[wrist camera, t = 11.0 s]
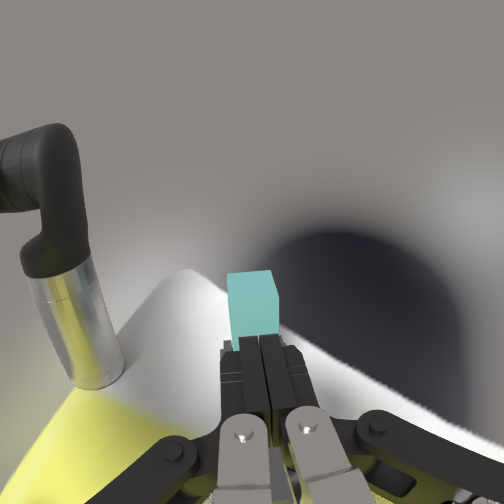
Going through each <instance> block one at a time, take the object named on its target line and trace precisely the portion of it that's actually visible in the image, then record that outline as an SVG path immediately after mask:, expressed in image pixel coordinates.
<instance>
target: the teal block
mask: <svg viewBox="0 0 504 504" xmlns="http://www.w3.org/2000/svg"><path fill="white" fill-rule="evenodd" d="M227 288H228V306H229V315H230V324H231V333H232V342H233V351H240V350H239V339H238V337H245V336H255V335H257V336H258V341H259V335H266V334H276V333H278V334H279V296H278V293H277V290H276V286H275V283H274V280H273V277H272V274H271V271H270V270H268V271H255V272H243V273H231V274H227Z"/></svg>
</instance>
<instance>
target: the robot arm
mask: <svg viewBox="0 0 504 504" xmlns="http://www.w3.org/2000/svg"><path fill="white" fill-rule="evenodd" d="M36 209H40V212H41V220H42V231H41V232H40V234H39V235H37V236H35V237H34V238H32V239H31V240H30V241H28V242H27V243H26V244H25V245H24V246H23V247H22V249H21V251H20V260H21V264H22V267H23V270H24V273H25V276H26V279H27V282H28V285H29V288H30V291H31V293H32V296H33V298H34V301H35V304H36V306H37V309H38V312H39V314H40V316H41V319H42V321H43V324H44V326H45V328H46V331H47V333H48V335H49V338H50V339H51V342H52V344H53V346H54V348H55V351H56V353H57V355H58V357H59V359H60V361H61V363H62V365H63V367H64V368H65V370H66V373H67V374H68V376H69V378H70V380H71V382H72V383H73V384H74V385H75V386H77V387H79V388H82V389H87V390H93V389H99V388H103V387H105V386H107V385H109V384H111V383H112V382H114V381H115V380H116V379H117V378H118V377H119V376H120V375H121V374H122V372H123V370H124V366H125V361H124V358H123V355H122V352H121V350H120V347H119V344H118V341H117V338H116V335H115V332H114V330H113V326H112V323H111V321H110V317H109V314H108V311H107V308H106V305H105V302H104V298H103V295H102V292H101V288H100V285H99V281H98V278H97V274H96V271H95V267H94V263H93V259H92V255H91V251H90V246H89V241H88V223H87V216H86V209H85V203H84V195H83V186H82V175H81V166H80V157H79V151H78V147H77V143H76V140H75V138H74V136H73V134H72V132H71V131H70V129H69V128H68V127H67V126H65V125H64V124H60V123H55V124H49V125H45V126H42V127H39V128H35V129H32V130H29V131H26V132H23V133H20V134H17V135H15V136H12V137H9V138H6V139H3V140H0V213H16V212H25V211H30V210H36ZM238 339H239V350H240V351H228V352H225V354H224V355H223V357H222V359H221V361H220V382H221V421H220V423H219V425H218V426H217V428H216V429H215V430H214V431H212V432H211V433H209V434H208V435H205V436H203V437H199V438H196V439H193V440H189V439H187V438H185V437H182V436H168V437H165V438H162V439H160V440H159V441H158V442H156V443H155V444H154V445H153V446H152V447H151V448H150V449H149V450H147V451H146V452H145V453H144V454H143V455H142V456H141V457H140V458H138V459H137V460H136V461H135V462H134V463H133V464H132V465H130V466H129V467H128V468H127V469H126V470H125V471H123V472H122V473H121V474H120V475H119V476H118V477H116V478H115V479H114V480H113V481H112V482H110V483H109V484H108V485H107V486H106V487H104V488H103V489H102V490H101V491H99V492H98V493H97V494H96V495H94V496H93V497H92V498H91V499H89V500H88V501H87V502H86V503H84V504H202V503H203V502H204V501H205V500H206V499H207V498H208V497H209V495H210V493H213V503H212V504H272V499H271V486H270V471H269V454H268V448H269V447H271V439H272V445H273V447H278V446H280V451H281V456H282V461H283V465H284V469H285V472H286V476H287V479H288V483H289V486H290V489H291V493H292V496H293V500H294V503H295V504H376V502H375V500H374V497H373V495H372V493H371V491H372V492H374V493H376V494H378V495H380V496H381V497H383V498H385V499H387V500H389V501H391V502H393V503H395V504H504V464H503V463H501V462H498V461H495V460H493V459H490V458H488V457H485V456H483V455H480V454H478V453H476V452H473V451H471V450H468V449H466V448H464V447H461V446H459V445H457V444H455V443H452V442H450V441H448V440H446V439H443V438H441V437H439V436H437V435H435V434H432V433H430V432H428V431H426V430H424V429H422V428H420V427H418V426H416V425H413V424H411V423H409V422H407V421H405V420H403V419H401V418H399V417H397V416H395V415H393V414H391V413H389V412H387V411H384V410H371V411H368V412H366V413H364V414H363V415H362V416H361V417H360V418H359V419H358V420H343V419H336V418H333V417H330V416H329V415H328V414H327V413H326V412H325V411H324V410H322V409H321V408H320V407H319V405H318V402H317V399H316V396H315V393H314V389H313V386H312V383H311V380H310V377H309V374H308V371H307V368H306V366H305V361H304V358H303V355H302V353H301V352H300V351H299V350H298V349H297V348H296V347H295V346H294V345H289V346H282V345H281V341H280V337H279V334H278V333H276V334H266V335H259V341H258V336H257V335H255V336H245V337H238Z"/></svg>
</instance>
